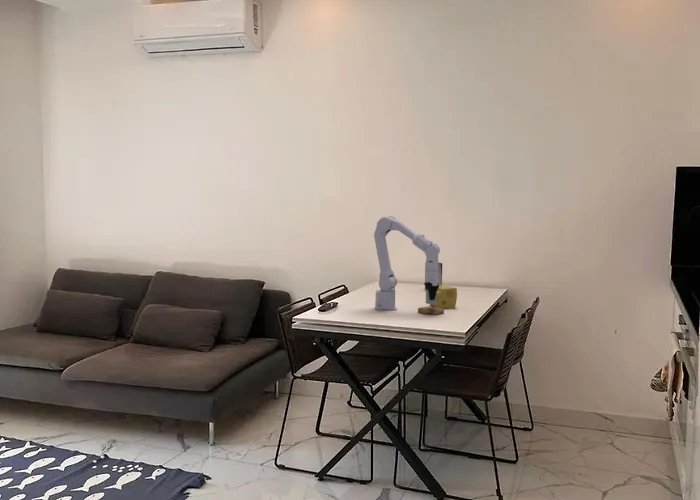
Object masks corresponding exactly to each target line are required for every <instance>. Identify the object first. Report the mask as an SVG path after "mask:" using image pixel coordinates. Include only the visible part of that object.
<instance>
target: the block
mask: <svg viewBox="0 0 700 500" xmlns="http://www.w3.org/2000/svg"><path fill="white" fill-rule="evenodd" d="M425 304H426V305H430V304H436V296H435V300H430V298H429V290H425Z"/></svg>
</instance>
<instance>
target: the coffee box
mask: <svg viewBox="0 0 700 500" xmlns="http://www.w3.org/2000/svg"><path fill="white" fill-rule="evenodd" d="M424 263H425V264H424V265H425V266H424V283H427V282H426V281H425V279H426V261H425V262H424ZM438 279H440V281H438V282H437V285H439V286H443V262H442V263H441V262H438ZM424 291H426V287H425V286H424Z"/></svg>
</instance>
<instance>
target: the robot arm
mask: <svg viewBox="0 0 700 500" xmlns="http://www.w3.org/2000/svg"><path fill="white" fill-rule="evenodd" d="M391 231H398V232H400V233H401V234H402V235H404V236H405V237H407V238H409V240H411V242H412V245H414V246H416V247H417V248H418V249H419V250H421V251H422V252H423V253H424V255H425V256H426V257H425V262H426V279H425V278H424V283H423V284H424V288H425V287H426V290H429V298H430V300H435V296H436V292H437V290H438V288H439V285H437V282H438V281H440V279H438V263H439V254H440V252H441V250H440V246H439V245H438V244H437V243H434V242H433V241H432V240H429V239H428V238H426V237H425V236H426V235H424V234H421V233H418V234H417V233H415V232H413V230H411V229H410V228H409V227H408V226H407V225H405V224H404V223H403V222H402V221H400V220H399V219H398V218H396V217H394V216H382V217H381V218H380V219H379V220H378V221H376V227H375V231H374V233H373V238H374V243H375V248H376V249H375V250H376V255H377V260H378V265H379V270H380V272H379V275H378V277H379V280H378V286H379V290H376V291H375V302H374V303H375V304H374V307H375V308H376V310H379V311H383V310H384V311H385V310H386V311H387V310H388V311H391V310H393V311H394V310H395V311H397V309H398V308H397V307H396V287H397V284H398V279H397V278H396V276H395V273H394V271H393V270H392V267H391V260H390V255H389V254H390V253H389V250H388V245H387V238H386V237H387V235H389V233H390V232H391ZM425 281H426V282H427V283H425ZM426 290H425V291H426Z"/></svg>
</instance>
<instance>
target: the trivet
mask: <svg viewBox="0 0 700 500" xmlns="http://www.w3.org/2000/svg"><path fill="white" fill-rule="evenodd" d="M417 313H418V314H420V315H429V316H437V315H438V316H439V315H444V314H445V308H443V309H442V308H437V307H433V306H424V307H423V306H422V307H418V308H417Z"/></svg>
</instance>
